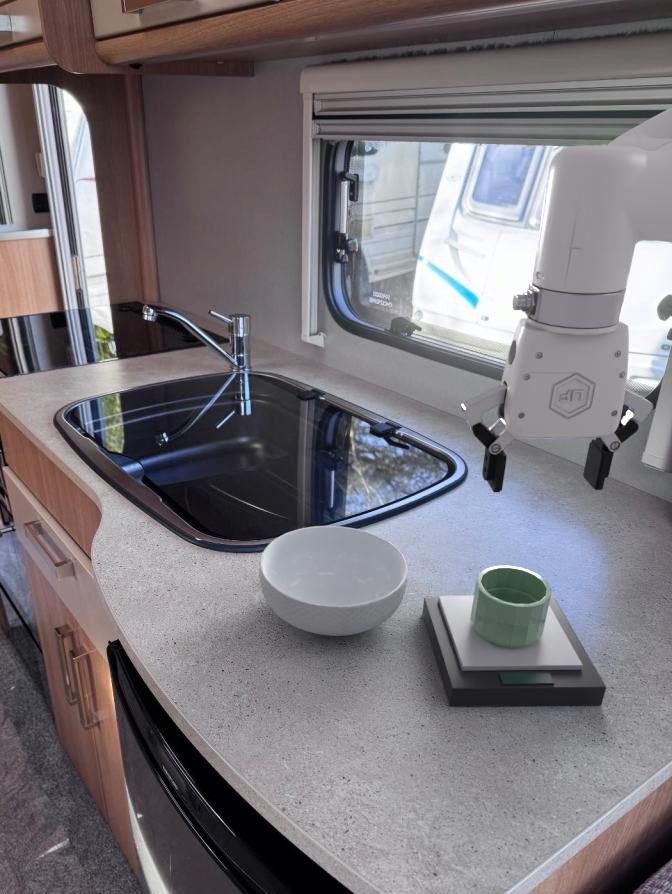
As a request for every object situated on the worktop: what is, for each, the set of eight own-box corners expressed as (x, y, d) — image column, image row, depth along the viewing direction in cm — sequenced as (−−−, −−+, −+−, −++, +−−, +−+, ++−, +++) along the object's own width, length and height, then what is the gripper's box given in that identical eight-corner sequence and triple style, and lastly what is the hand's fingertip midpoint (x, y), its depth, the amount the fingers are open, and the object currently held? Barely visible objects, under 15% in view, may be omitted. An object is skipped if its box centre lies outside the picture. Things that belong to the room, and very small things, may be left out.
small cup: (529, 606, 80) (537, 565, 78) (551, 650, 74) (561, 606, 71) (463, 607, 80) (469, 565, 77) (479, 650, 74) (487, 606, 71)
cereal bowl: (394, 671, 75) (400, 616, 72) (241, 646, 79) (239, 593, 75) (410, 582, 90) (415, 532, 86) (280, 564, 93) (280, 516, 90)
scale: (550, 613, 84) (555, 592, 83) (601, 705, 71) (608, 682, 70) (422, 614, 84) (424, 593, 82) (449, 707, 71) (453, 683, 69)
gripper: (485, 320, 59) (463, 505, 67) (697, 315, 59) (648, 501, 67) (463, 298, 65) (446, 470, 73) (654, 295, 65) (615, 466, 74)
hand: (542, 484), depth 70 cm, fingers open, 9 cm apart
